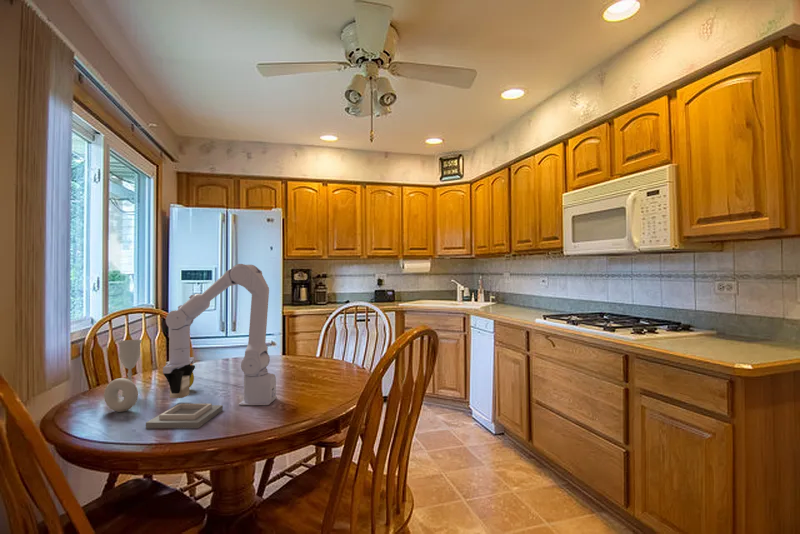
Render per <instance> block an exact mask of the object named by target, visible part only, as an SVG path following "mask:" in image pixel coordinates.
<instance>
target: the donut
mask: <svg viewBox="0 0 800 534" xmlns="http://www.w3.org/2000/svg"><path fill="white" fill-rule="evenodd" d="M119 391H123V392H124V395H125V396H124V398H123V399H121V398H120V396H119ZM103 396H104V397H103V398H104V403H106V406H107V407H108V408H109V409H110V410H112V411H114V412H118V413H123V412H126V411H127V412H128V411H129V410H131V409H132V408H133V407H134V406H135V405H136V403H137V401H138V398H139V391H138V388H137V386H136V384H135V383H134V382H133V380H132V381H131V380H129V379H128V378H125V377H120V378H115V379H113V380H111V381H110V382H109V383H108V384H107V386H106V387H105V389H104V394H103Z"/></svg>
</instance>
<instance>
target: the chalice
mask: <svg viewBox="0 0 800 534" xmlns="http://www.w3.org/2000/svg"><path fill="white" fill-rule="evenodd" d="M142 340H143V339H128V340H127V339H125V340H120V341H117V343H118V346H119V349H118V350H119V351H118V352H119V356H118V357H119V358H120V361H121V363H122V365H123V367H124V368H125V369H127V370H128V371H127V374H126V375H127V379H129V380H131V381H132V382H133V378H132V376H133V371H132V370H133V368H135V367H136V365H137V363H138V361H139V358H140V356H141V343H142ZM121 391H122V390H121ZM120 396H121V397H125V395H124V392H123V391H122V392H121V394H120Z"/></svg>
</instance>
